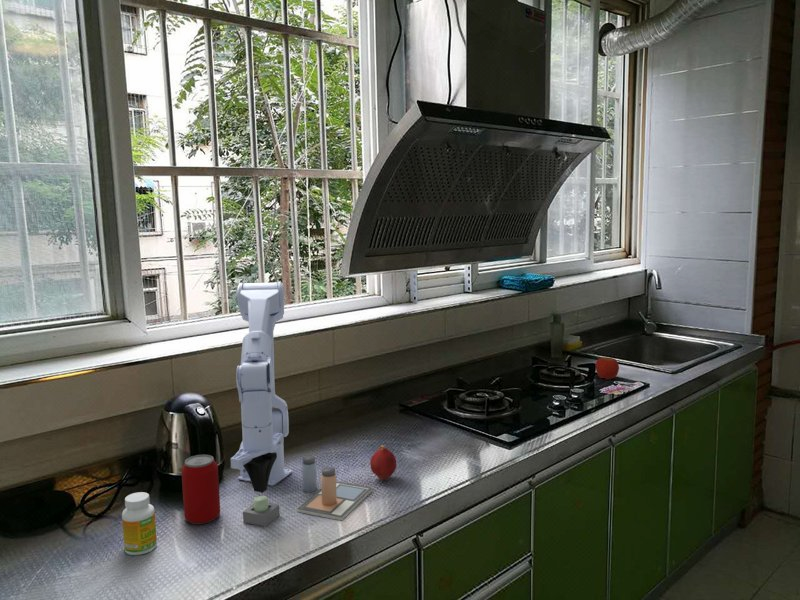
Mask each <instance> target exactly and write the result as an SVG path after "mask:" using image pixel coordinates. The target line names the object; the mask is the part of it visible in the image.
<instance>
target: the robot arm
mask: <svg viewBox="0 0 800 600" xmlns="http://www.w3.org/2000/svg"><path fill="white" fill-rule="evenodd" d="M284 287H285V286H284V283H282V281H277V282H275V281H274V282H239V284H238V285H237V291H236V293H237V294H236V297H237V299H236V301H237V307H238V310H239V314H240V316H241V318H242V320H243V321H246V322H248V333H246V334H245V335H244V337H243V338H242V342H241V343H242V345H241V356H240V357H241V358H240V365H237V367H236V375H235V377H236V380H235V381H236V389H237V393H238V400H239V403H240V412H241V431H242V433H241V434H242V435H241V436H242V441H241V443H240V445H239V450H238V451H237V452H236V453H235V454H234V455H233V456H232V457H230V469H235V470H238V471H239V473H240V476H238V477H237V478H238V480H241V481H246V482H250V483H251V486H252V489H253V491H254V492H256V493H261V494H263V493H265V492H266V491H267V490H268V486H275V485H276V484H278V483H279V482H281V481H282V480H283V479H285V478H286V477H288V476H289V475H291V474H292V473H293V470H292V469H287V468H285V455H284V454H285V453H284V452H285V451H284V440H285V439H284V438H287V436H288V435H289V431H290V430H289V429H290V428H289V427H290V426H289V424H290V422H289V410H288V404H287V401H285V400H284V399H283V398H281V397H279V395H277V394H276V391H275V390H276V387H275V386H276V385H275V384H276V383H275V349H274V347H275V346H274V345H275V344H274V343H275V342H274V341H275V340H274V339H275V338H274V329H275V327H276V324H277V323H276V322H278V321H280V320H283V319H284V314H285V288H284ZM274 408H275V409H274Z"/></svg>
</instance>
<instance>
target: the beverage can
mask: <svg viewBox="0 0 800 600" xmlns="http://www.w3.org/2000/svg"><path fill="white" fill-rule="evenodd" d="M219 479H220V478H219V466H218V464H217V462H216V461H215V458H214V456H212V455H210V454H196V455H192V456H190V457H188V458H186V459H185V460H184V464H183V466H182V468H181V483H182V484H181V485H182V499H183V500H182V501H183V514H184V519H185V520H186V521H187V522H189V523H192V524H194V525H204V524H205V525H206V524H207V523H211V522H212V521H214V520H215V519H217V517H219V515H220V513H221V501H220V500H221V499H220V482H219Z"/></svg>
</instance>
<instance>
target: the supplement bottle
mask: <svg viewBox="0 0 800 600" xmlns="http://www.w3.org/2000/svg"><path fill="white" fill-rule="evenodd" d="M124 505H125V508H124V509H123V511H122V513H121V521H122V523H121V525H122V534H123V536H122V537H123V549H124V551H125V553H126V554H127V555H129V556H140V555H141V556H142V555H144V554H147V553H149V552H151V551H153V550H155V548H156V546H157V540H158V539H157V528H156V527H157V526H156V525H157V524H156V515H155V514H156V511H155V507H154V505H152V504H151V502H150V494H149V493H147V492H143V491H140V492H139V491H138V492H133V493H130V494H128V495H127V496H126V497H125V498H124Z"/></svg>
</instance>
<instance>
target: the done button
mask: <svg viewBox="0 0 800 600" xmlns="http://www.w3.org/2000/svg"><path fill="white" fill-rule="evenodd" d="M268 502H269V497H268V496H264V495H261V496H259V495H258V496H256V497H255V498H253V504H254V511H257V512H262V513H264V512H265V511H266V510H267V509H269V507H268Z"/></svg>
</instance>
